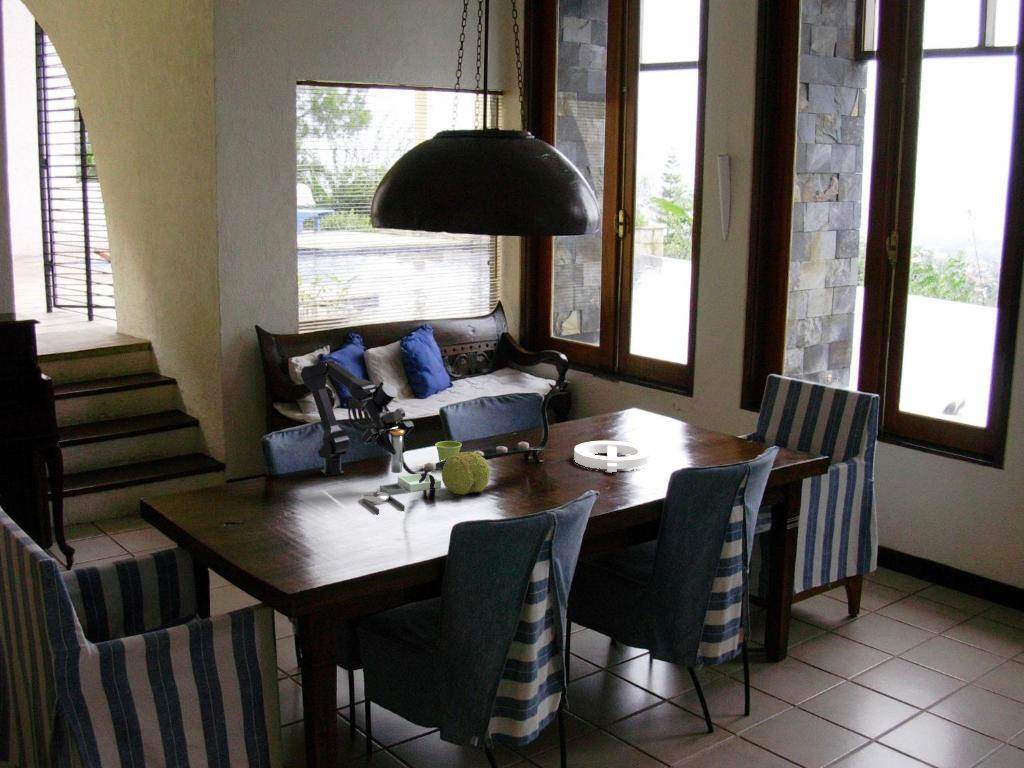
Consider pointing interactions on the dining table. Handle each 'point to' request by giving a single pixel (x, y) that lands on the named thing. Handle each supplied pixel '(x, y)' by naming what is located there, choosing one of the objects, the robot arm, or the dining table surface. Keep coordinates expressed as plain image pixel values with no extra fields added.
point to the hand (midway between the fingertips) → (399, 453)
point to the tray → (417, 482)
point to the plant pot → (447, 449)
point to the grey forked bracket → (379, 500)
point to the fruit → (465, 473)
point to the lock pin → (396, 450)
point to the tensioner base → (392, 489)
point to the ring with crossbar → (611, 455)
